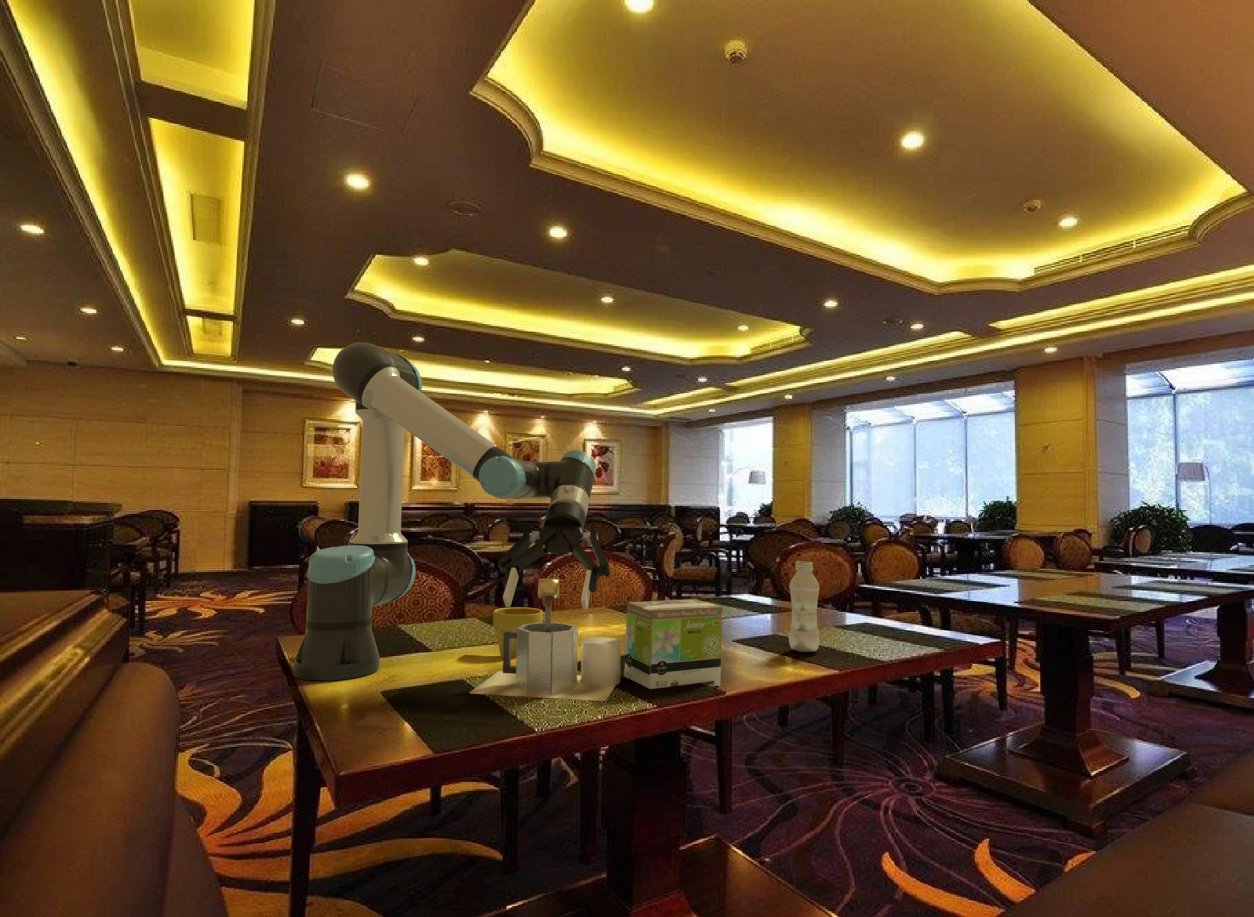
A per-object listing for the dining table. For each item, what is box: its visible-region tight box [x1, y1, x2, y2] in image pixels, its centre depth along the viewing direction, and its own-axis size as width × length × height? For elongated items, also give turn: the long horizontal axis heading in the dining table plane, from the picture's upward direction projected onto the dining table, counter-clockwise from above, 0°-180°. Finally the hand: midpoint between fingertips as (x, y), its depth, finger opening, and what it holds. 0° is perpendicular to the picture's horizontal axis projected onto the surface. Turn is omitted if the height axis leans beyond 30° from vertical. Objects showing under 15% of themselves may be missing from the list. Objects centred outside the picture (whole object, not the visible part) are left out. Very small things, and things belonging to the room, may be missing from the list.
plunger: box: [537, 577, 560, 632], centre depth 118 cm, size 7×7×15 cm
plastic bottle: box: [788, 560, 820, 653], centre depth 154 cm, size 6×7×20 cm
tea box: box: [624, 599, 723, 690], centre depth 125 cm, size 15×10×15 cm, turn 117°
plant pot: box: [492, 606, 544, 658], centre depth 144 cm, size 10×10×10 cm
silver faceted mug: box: [502, 621, 579, 695], centre depth 118 cm, size 13×10×10 cm
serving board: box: [469, 670, 616, 702], centre depth 119 cm, size 23×15×1 cm, turn 82°
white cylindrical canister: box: [580, 636, 622, 687], centre depth 122 cm, size 7×7×7 cm
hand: (544, 603), depth 116 cm, fingers open, 13 cm apart
